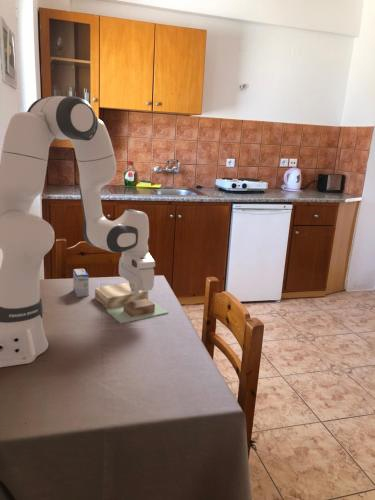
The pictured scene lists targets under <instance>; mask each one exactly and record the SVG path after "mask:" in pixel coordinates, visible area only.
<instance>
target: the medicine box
mask: <svg viewBox="0 0 375 500" xmlns="http://www.w3.org/2000/svg"><path fill="white" fill-rule="evenodd" d="M72 272H73V273H72V274H73V275H72V280H73V281H72V285H73V288H72V289H73V292H74V293H75V295H76V297H77V298H79V297H88V296H89V293H90V291H89V290H90V289H89V288H90V287H89V274H88V272H87V271H86V269H85V268H75V269H72Z"/></svg>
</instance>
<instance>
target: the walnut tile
mask: <svg viewBox="0 0 375 500" xmlns="http://www.w3.org/2000/svg"><path fill="white" fill-rule="evenodd" d="M151 301H152V300H150V299H149V298H148V299H147V298H146V299H141V300H136V301H130V302H125V303H124V307H123V311H124V312H125V313H127V314H128V315H129V316H130V317H134V316H139V315H144V314H149V313H154V312H155V304H154V303H152V302H151Z"/></svg>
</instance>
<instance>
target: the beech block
mask: <svg viewBox="0 0 375 500" xmlns="http://www.w3.org/2000/svg"><path fill="white" fill-rule="evenodd" d="M94 298H95V299H96V300H97V301H98V302H100V304H102V306H104V307H105V308H106V309H110V308H115V307H120V306H124V303H125V302H130V301H136V300H141V299H146V298H147V299H148V300H149V291H142V290H139V296H136V297H135V296H134V295H132V294H131V289H130V285H129V281H127V282H124V283H123V282H122V283H116V284H111V285H104V286H97V287H94Z"/></svg>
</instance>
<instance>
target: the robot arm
mask: <svg viewBox="0 0 375 500" xmlns="http://www.w3.org/2000/svg"><path fill="white" fill-rule="evenodd" d="M3 138H4V139H3V143H2V148H1V155H0V250H1V251H2V260H1V264H0V368H4V367H12V366H17V365H18V366H19V365H25V364H31V363H33V362H34V361H35V360H36V358H37V357H39V356H40V355H41V354H43V353H44V352H46V350H47V349H48V347H49V342H48V340H47V336H46V333H45V329H44V325H43V314H44V310H43V309H44V308H43V307H44V306H43V301H42V298H41V292H40V291H41V288H40V281H41V280H40V274H41V266H42V262H43V259H44V257H45V255H47V254H48V253H49V252H50V251H51V250H52V248H53V245H54V243H55V237H56V236H55V229H54V228H53V226H52V224H50V223H49V222H48V221H46V220H45V219H43V218H42V217H40V216H38V215H37V214H33V213H30V209H31V206H33V203H34V201H35V200H36V199H37V197H38V196H40V194H42V193H43V191H44V187H45V180H46V174H47V170H48V168H47V167H48V161H49V153H50V151H49V150H50V147H51V144H52V143H53V141H54V140H55V139H57V140H62V141H63V140H65V141H66V140H68V141H69V142H70V143H71V145H72V146H73V148H74V154H75V158H76V163H77V168H78V173H79V179H78V187H79V194H80V202H81V208H82V214H83V227H82V236H83V240H84V241H85V243H86V244H87V245H88V246H90V247H94V248H98V249H102V250H105V251H108V252H111V253H115V254H120V253H121V256H120V258H119V259H118V262H119V263H118V274H119V276H120V277H122V278H124V280H126V281H127V282H129V285H130V289H131V294H132V295H134V296H135V297H136V296H139V290H142V291H148V292H149V291H152V290H153V289H154V286H155V285H154V284H155V283H154V282H155V270H154V268H155V267H156V261H155V260H154V258H153V257H152V255H151V254H150V252H149V249H150V248H149V243H148V242H149V239H150V223H149V222H150V221H149V217H148V215H147V213H146V212H145V211H140V210H137V209H130V208H129V209H125V210H124V212H123V214H122V215H120V216H119V217H117V219H115V220H110V219H108V218H107V217H106V216H105V215H104V213H103V207H102V206H103V205H102V198H101V189H102V188H103V187H105V186H107V185H109V183H111V182H112V181H113V179H114V178H115V176H116V174H117V161H116V156H115V152H114V148H113V143H112V139H111V138H110V134H109V132H108V129H107V127H106V125H105V123H104V121H102V120H101V119H100V118H98V117H97V116H96V113H95V111H94V108H93V107H92V105H91V103H89V101H87V100H86V99H83V98H82V97H78V96H73V95H69V96H61V95H54V96H53V95H52V96H48V97H42V98H38V99H37V100H35V101H33V102H32V104H30V105H29V107H28V109H27V110H26V111H20V112H18V113H15V114H14V115H12V117H10V119H9V123H8V125H7V127H6V131H5V134H4V137H3Z"/></svg>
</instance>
